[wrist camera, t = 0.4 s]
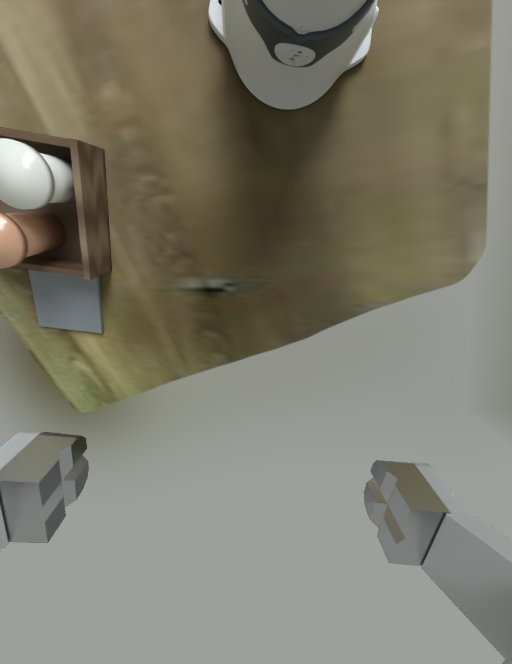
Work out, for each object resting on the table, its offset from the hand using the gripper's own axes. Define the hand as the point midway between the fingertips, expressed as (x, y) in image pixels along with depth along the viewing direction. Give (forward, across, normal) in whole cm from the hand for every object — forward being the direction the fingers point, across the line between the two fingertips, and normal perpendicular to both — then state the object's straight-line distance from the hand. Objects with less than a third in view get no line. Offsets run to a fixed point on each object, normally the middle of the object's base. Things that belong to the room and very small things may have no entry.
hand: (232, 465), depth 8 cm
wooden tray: (+38, +29, -7) cm, 48 cm away
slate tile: (+39, +28, +7) cm, 48 cm away
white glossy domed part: (+37, +25, -10) cm, 46 cm away
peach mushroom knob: (+37, +29, -3) cm, 47 cm away
